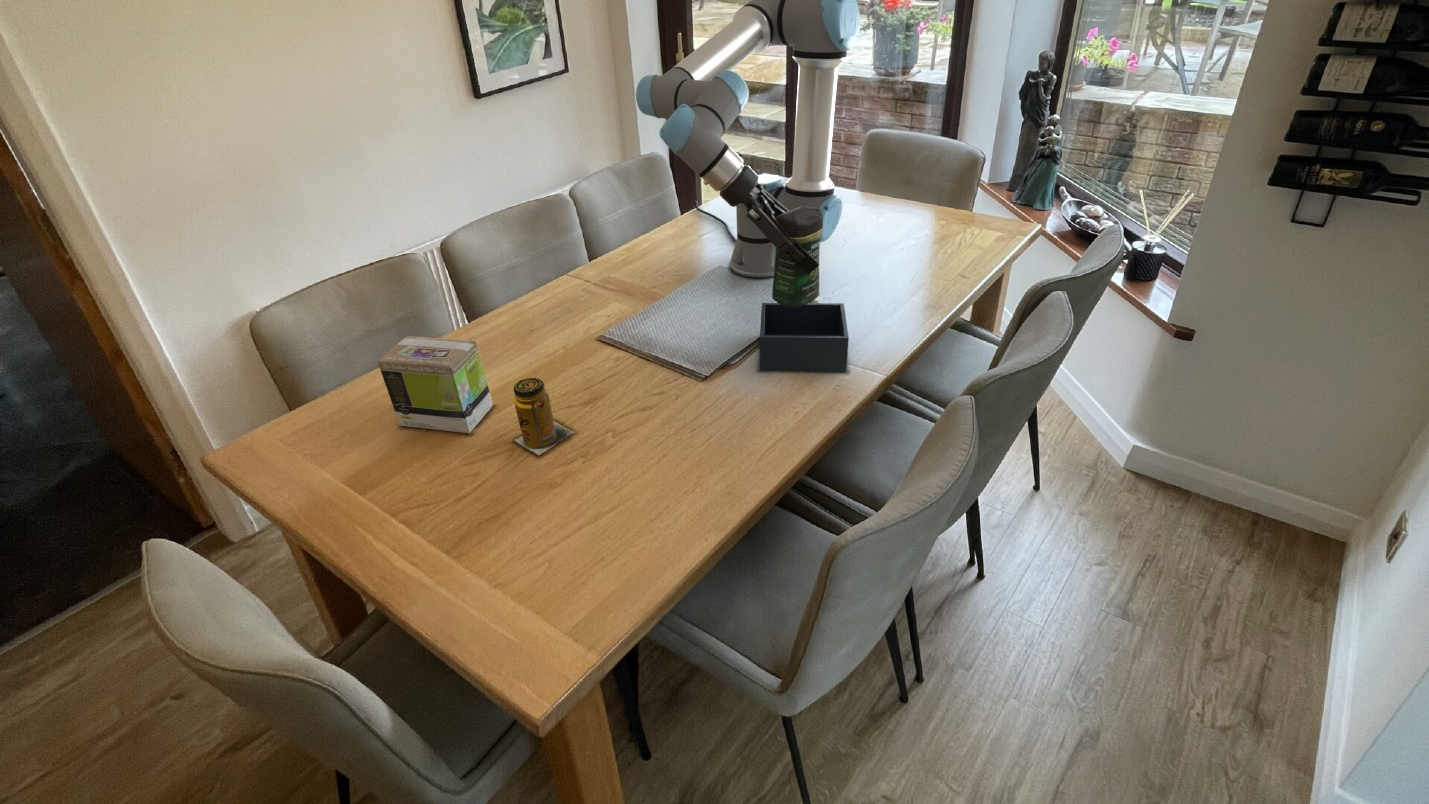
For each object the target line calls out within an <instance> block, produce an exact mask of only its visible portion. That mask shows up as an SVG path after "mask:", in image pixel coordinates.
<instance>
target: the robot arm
mask: <svg viewBox="0 0 1429 804" xmlns="http://www.w3.org/2000/svg"><path fill="white" fill-rule="evenodd" d="M860 30H861V13H860V8H859V4H858V1H857V0H750V1H748V2H747V3H746V4H744V5H743V6H741V7H740V8H739V9H738V10H737V11H736V12H735V13H734V15H733V18H732V21H731V22H729V23H728V24H726V25H725V26H724V27H723V28H721V29H720V30H719V31H718V32H716V33H715V34H713V36H711V37H710V38H709V39H707V40H706V41H705V42H703V43H702V44H701V45H700V46H698V47H697V48H696V49H694V50H693V51H692V52H691V53H690V54H688V55H686V57H684V58H683V59H682V60H681V61H679V62H678V63H677V64H676V65H674V66H673V67H672V68H671V69H669V70H667V71H666V72H665V73H663V74H662V75H658V74H652V75H651V74H650V75H645V76H643V77H642V78H640V80H639V82H637V83H638V84H637V86H636V90H635V100H636V104H637V107H638V109H639V111H640V112H641V113H642V114H643V115H646V116H649V117H652V118H653V117H654V118H656V119H665V120H666V121H665V122H664V123H663V125H661V127H660V129H659V137H660V139H661V140H662V141H663V142H664V144H665V145H666V146H667V147H668V148H669V149H670V150H671V151H672V153H673V154H675V155H676V156H677V157H679V159H681V160H682V161H683V162H684V163H685V164H686V165H687V166H688V167H689V168H690V169H691V170H692V171H694V173H696V174H697V175H698V177H700V178H701V179H702V180H703V182H702V183H703V185H705V186H708V185H709V187H710V188H712V190H713V191H714V192H719V196H720V198H721V199H723V201H725V202H726V203H727V205H729V206H730V207H732V208H736V211H735V213H736V238H735V236H734V235H733V234H732V232H731V230H730V228H729V226H728V223H726V222H725V221H724V220H722V219H721V218H720V217H718V216H716V215H714V214H712V213H710V212H709V211H705V210H703V209H701V208H700V207H699V206H698V201H697V200H694V205H695V209H696V211H698V212H700V213H702V214H704V215H706V216H709V217H710V218H713V219H714V220H716V221H718V222H720V223H721V224H722V225H723V226H724V228H725V230H726V232H727V234H728V236H729V237H730V238H731V240H732V241H733V242H734V247H733V250H732V254H731V257H730V269H731V270H732V272H734V274H737V275H739V276H742V277H746V278H753V279H765V278H772V277H774V270H775V256H776V248H777V249H778V250H779V253H780V254H781V255H783V254H784V253H785V252H786V253H787V254H788V255H789V256H790V257H791V258H792V259H793V260H794V261H795V262H796V263H797V264H798V265H799V266H800V267H801V268H803V269H804V270H805V271H806V272H807V273H808V274H810V273H811V272H812V271H813V270H814V269H815V268H817V267H818V266H819V267H820V262H819V263H818V262H817V261H816V260H815V259H814V258H813V257H812V256H811V255H810V254H809V253H808V252H807V251H806V250H805V249H804V248H803V247H802V246H801V245H800V244H799V243H798V242H796V241H795V242H794V241H793V240H792V239H791V237H790V236H789V235H788V234H787V232H786V231H785V230H784V228H783V227H782V226H781V225H780V223H779V222H778V221H777V219H776V217H777V216H779V215H781V214H783V213H785V212H787V211H790V210H792V209H795V208H798V207H801V206H802V205H807V206H810V207H814V208H817V209H820V211H821V212H822V214H823V231H822V235H821V240H820V243H823V242H826V241H827V240H828V239H830V237H832V235H833V234H834V232H835V230H836V229H837V227H838V225H839V222H840V219H841V216H842V211H843V201H842V198H841V197H840V196H839V195H838V194H835V183H834V182H833V181H832V179H831V178H830V167H831V158H832V157H831V156H832V143H833V133H834V132H833V131H834V121H835V110H836V109H835V108H836V100H837V99H836V97H837V87H838V86H837V85H838V76H839V67H840V65H841V64H843V63H844V62H845V60H847V53H848V51H851V50H853V48H854V47H855V46H856V45H857V42H858V38H859V36H860ZM778 46H781V47H782V46H784V47H792V58H793V60H794V61H795V62H796V63H797V65H798V76H797V77H798V78H797V92H796V93H797V94H796V110H795V111H796V112H795V127H794V140H793V141H794V143H793V157H792V161H793V162H792V173H791V177H789V179H787V181H785V182H784V179H783V177H781V176H779V175H774V174H766V175H758V173H756V172H755V171H754V169H752V168H751V166H749V165H748V164H744V159H743V158H742V157H740V156H739V154H738V153H736V152H735V151H734V150H733V148H731V147H730V146H729V144H728V143H726V141H724V139H722V138H723V136H724V134H725V133H726V132H727V130H729V128H730V127H731V125H732V124H733V123H734V121H735V120H736V119H737V118H738V116H740V114H741V113H742V110H743V109H744V107H745V105H746V104H747V102H748V100H749V96H750V91H749V87H748V85H747V83H746V81H745V80H744V78H743V77H742V76H741V75H739V74H738V73H737V72H735V71H733V70H734V69H735V68H736V67H738V66H739V65H740V64H741V63H742V62H743V61H745V60H746V59H747V58H748V57H750V56H751V55H752V54H758V53H761V52H763V51H765V50H766V49H767V48H769V47H778ZM783 243H784V244H783Z"/></svg>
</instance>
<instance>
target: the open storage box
mask: <svg viewBox="0 0 1429 804" xmlns="http://www.w3.org/2000/svg"><path fill="white" fill-rule="evenodd" d="M759 328H760V329H759V371H760V372H804V373H805V372H806V373H808V372H809V373H846V372H847V364H848V351H849V339H850V338H849V330H848V323H847V315H846V308H845V303H843V302H842V303H841V302H837V303H834V302H832V303H830V302H829V303H827V302H824V303H823V302H809V303H808V304H805V305H803V306H801V307H789V306H787V307H786V306H783V305H781V304H779V303H777V302H761V310H760V327H759Z"/></svg>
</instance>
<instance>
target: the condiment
mask: <svg viewBox="0 0 1429 804" xmlns="http://www.w3.org/2000/svg"><path fill="white" fill-rule="evenodd" d="M513 393H514V401H513V402H514V408H515V412H516V415H517V420H518V423H519V424H518V425H519V429H520V433H521V436H519V437H518V438H516V439H514V440H513V441H514V442H515V443H517V444H519V445H520V446H522V447H523V448H525V449H527V450H529V451H530V452H532V453H534V454H536V455H537V456H540V455H542V454H543V453H545V452H548V451H549V450H551V449H552V448H553V447H555V446H557V445H558V444H560V443H561V442H562V441H564V440H566V439H567V438H569V437H570V436H571V435H573V434H574V433H575V431H574V430H571V429H570V428H567V427H565V426H564V425H561V424H559V423H558V422H556V421H555V419H554V415H553V414H554V413H553V410H552V404H551V400H550V395H549V393H548V392H547V390H546V387H545V383H544V381H543V380H542V379H540V378H538V377H526V378H523V379H520V380H518V381H517V382H515V384H514V385H513Z"/></svg>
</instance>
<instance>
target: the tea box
mask: <svg viewBox="0 0 1429 804" xmlns="http://www.w3.org/2000/svg"><path fill="white" fill-rule="evenodd" d="M377 365H378V367H379V370H380V374H381V376H382V380H383V383H384V385H385V388H386V390H387V393H388V396H389V398H390V402H391V404H392V408H393V410H394V412H395V415H396V419H397V421H398V425H399V426H400V427H410V428H420V429H429V430H437V431H447V432H455V433H464V434H470V433H471V432H472V431H473V430H474V429H475V427H477V425H478V424H479V423H480V422H481V421H482V419H483V418H484V417H485V416H486V414H487V413H488V412H489V411H490V410H491V408H492V407H493V400H492V396H491V392H490V387H489V385H488V380H487V377H486V372H485V369H484V366H483V365H484V364H483V361H482V358H481V354H480V350H479V346H478V342H477V341H476V340H468V339H452V338H440V337H427V336H411V335H406V336H405V337H404V338H403V339H402V340H400V341H399V342H397V344H396V345H394V346H393V347H392V348H391V349H390V350H388V351H387V352H386V353H385V354H384V355H382V357H380V358H379V359H378V360H377Z"/></svg>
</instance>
